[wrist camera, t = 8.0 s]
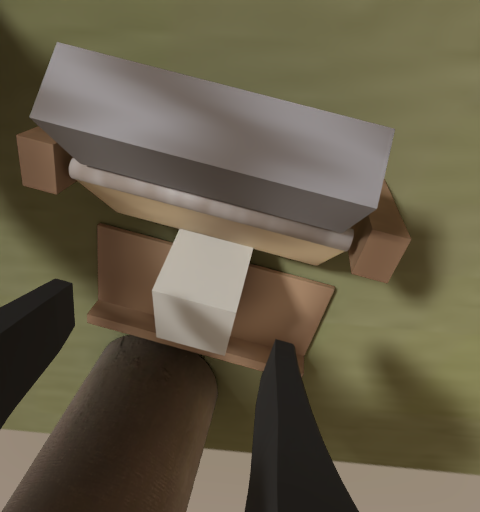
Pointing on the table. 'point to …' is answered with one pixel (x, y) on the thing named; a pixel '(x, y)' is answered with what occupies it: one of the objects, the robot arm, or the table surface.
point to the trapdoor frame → (256, 282)
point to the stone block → (200, 291)
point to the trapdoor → (213, 155)
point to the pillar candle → (126, 435)
